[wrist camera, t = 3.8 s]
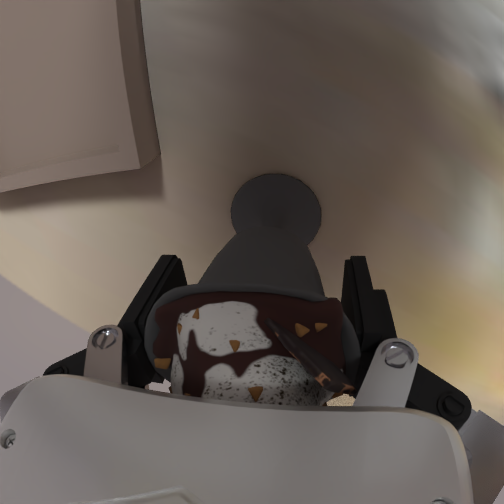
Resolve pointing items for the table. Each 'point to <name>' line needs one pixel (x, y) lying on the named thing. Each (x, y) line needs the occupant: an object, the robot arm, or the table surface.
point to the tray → (72, 91)
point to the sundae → (258, 311)
